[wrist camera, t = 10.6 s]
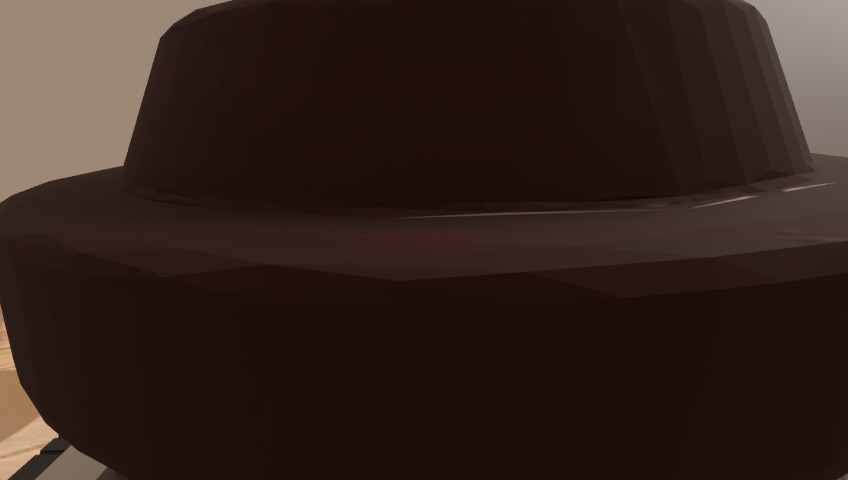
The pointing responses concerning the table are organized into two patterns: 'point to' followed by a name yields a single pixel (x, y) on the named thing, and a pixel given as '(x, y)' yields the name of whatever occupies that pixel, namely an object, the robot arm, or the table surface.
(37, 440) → the table surface
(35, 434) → the table surface
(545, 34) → the coffee cup
